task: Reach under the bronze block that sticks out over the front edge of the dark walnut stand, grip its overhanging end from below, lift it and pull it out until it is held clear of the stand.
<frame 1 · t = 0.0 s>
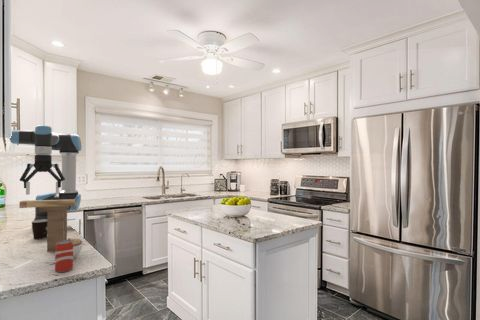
hand: (42, 194, 151), 28 cm above the counter, tool pointing down, fingers open, 13 cm apart
walnut stand: (53, 249, 146), on the counter
coffee mug: (42, 237, 170), on the counter
bronze block: (48, 206, 146), point 22 cm above the counter, touching walnut stand
lidded jar: (69, 258, 133), on the counter
beverage can: (64, 270, 119), on the counter
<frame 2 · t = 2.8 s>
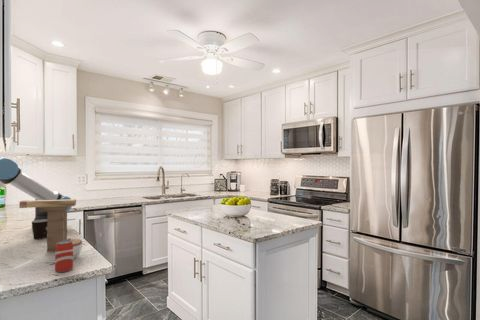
nothing on the counter moved.
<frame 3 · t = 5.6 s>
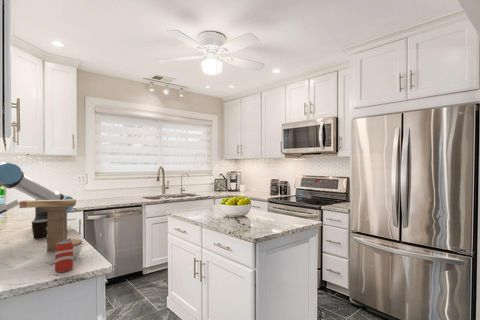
hand: (12, 203, 141), 24 cm above the counter, tool pointing upward, fingers open, 13 cm apart
nothing on the counter moved.
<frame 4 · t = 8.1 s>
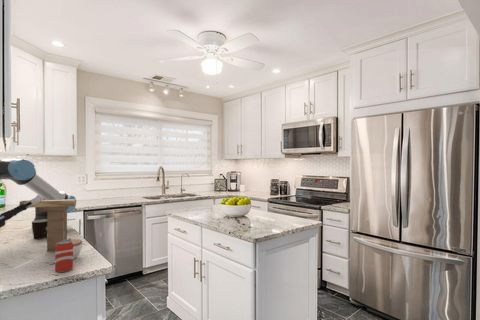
hand: (40, 198, 144), 27 cm above the counter, tool pointing upward, fingers closed on bronze block, 4 cm apart
bronze block: (48, 206, 146), point 22 cm above the counter, touching gripper, walnut stand
everything else where it was.
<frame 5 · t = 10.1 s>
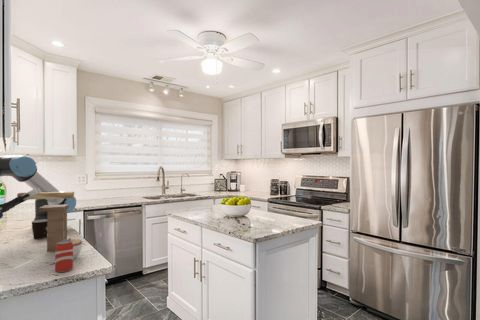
hand: (38, 190, 144), 31 cm above the counter, tool pointing upward, fingers closed on bronze block, 4 cm apart
bronze block: (46, 198, 145), point 27 cm above the counter, touching gripper
everything else where it was.
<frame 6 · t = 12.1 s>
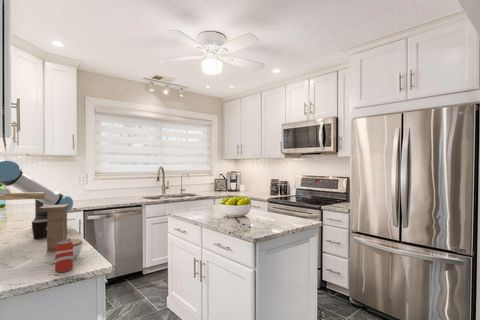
hand: (7, 191, 140), 31 cm above the counter, tool pointing upward, fingers closed on bronze block, 4 cm apart
bronze block: (16, 199, 141), point 27 cm above the counter, touching gripper
everything else where it was.
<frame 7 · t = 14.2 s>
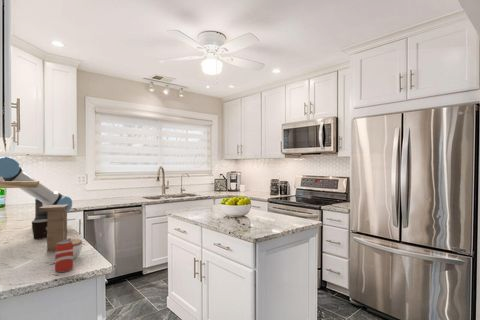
hand: (0, 179, 139), 37 cm above the counter, tool pointing upward, fingers closed on bronze block, 4 cm apart
bronze block: (9, 187, 140), point 32 cm above the counter, touching gripper
everything else where it was.
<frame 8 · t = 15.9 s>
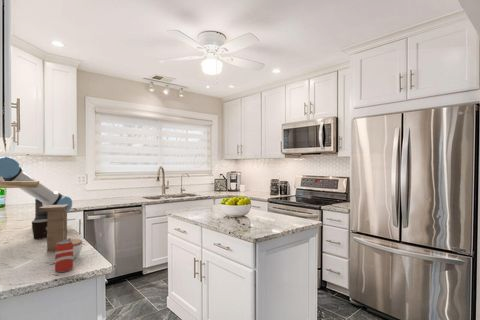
hand: (0, 179, 139), 37 cm above the counter, tool pointing upward, fingers closed on bronze block, 4 cm apart
bronze block: (9, 187, 140), point 32 cm above the counter, touching gripper
everything else where it was.
at the end: the gripper is holding bronze block; bronze block touching gripper; bronze block inside the target area (2.0 cm from its centre), point 32.5 cm above the counter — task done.
